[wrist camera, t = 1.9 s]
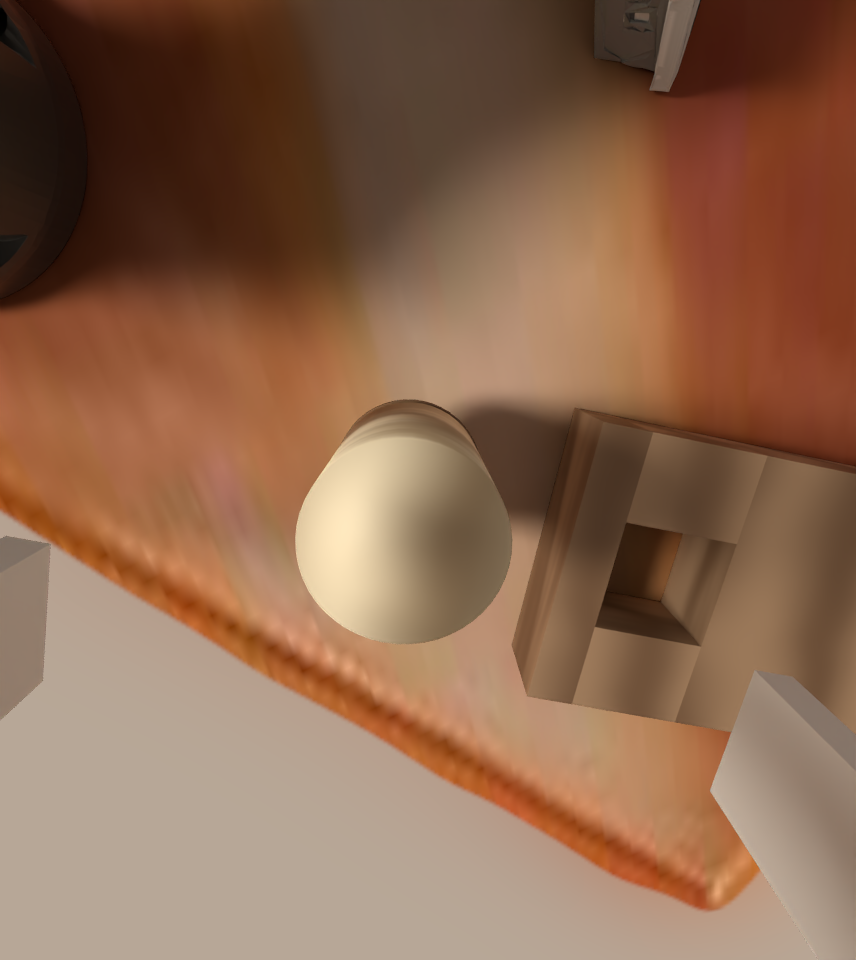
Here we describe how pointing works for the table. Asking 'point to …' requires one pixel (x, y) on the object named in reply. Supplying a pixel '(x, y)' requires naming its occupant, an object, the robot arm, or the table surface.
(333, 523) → the leg peg
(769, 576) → the board
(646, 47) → the electrical switch
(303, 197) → the table surface
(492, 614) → the table surface
